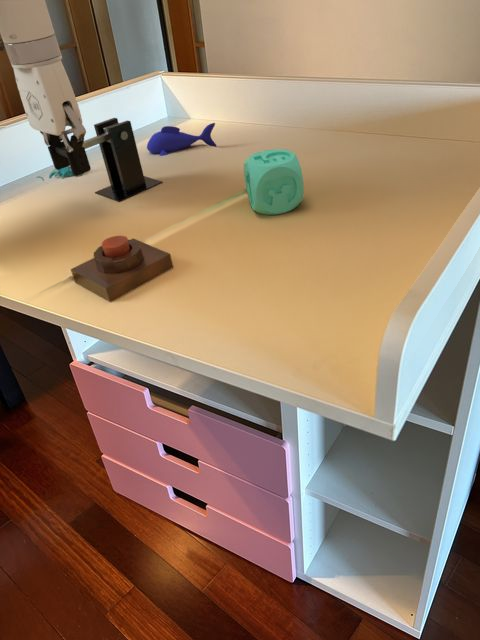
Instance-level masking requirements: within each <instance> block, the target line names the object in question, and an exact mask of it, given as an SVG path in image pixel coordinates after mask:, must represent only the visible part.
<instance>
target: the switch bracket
mask: <svg viewBox="0 0 480 640" xmlns="http://www.w3.org/2000/svg"><path fill="white" fill-rule="evenodd" d="M115 123H116V125H113V124H115ZM110 125H113V126H110ZM107 126H110V127H107ZM93 127H94V131H95V134H96V136H98V135H101V134H104V130H103V128H105V127H107V132H108V135H109V139H110V142H107V141H105V142H102V143H100V144H98V145H99V148H100V149H99V150H100V152H101V155H102V160H103V164H104V166H105V170H106V173H107V177H108V180H109V184H110V185H109V186H106V187H103V188H102V189H99V190H97V191H94V194H95V195H98V196H101V197H103V198H106V199H109V200H112V201H114V202H117V203H121V202H123V201H126V200H128V199H130V198H132V197H135V196H137V195H139V194H141V193H143V192H146V191H148V190H150V189H153V188H155V187H157V186H159V185H162V184H164V181H162V180H159V179H155V178H152V177H150V176H149V177H148V176H146V175H144V171H143V167H142V163H141V159H140V154H139V151H138V145H137V142H136V139H135V133H134V131H133V126H132V122H131V121H130V120H129V119H128V120H125V121H121V122H119V119H118V118H117V117H113V118H109V119H106V120H103V121H101V122H98V123H95V124H93Z"/></svg>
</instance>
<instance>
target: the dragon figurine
mask: <svg viewBox="0 0 480 640" xmlns="http://www.w3.org/2000/svg"><path fill="white" fill-rule="evenodd" d="M58 175H59V176H60V177H61V179H64V178H68V177H77V178H79V177H81V176H82V175H83V174H80V175H78V176H74V175H73V173H72V170H71V167H70V166H67V167H65V168H62V169H60V170H57V169H55V168H54V169H53V170H52V171H51V172H50V173H49V175H48V179H49V180H50V179H52V178H53V176H54V178H56V177H57V176H58ZM35 178H40V179H41V180H42V182H44V181H45V180H44V177H42V176H36V177H35Z"/></svg>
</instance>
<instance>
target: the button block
mask: <svg viewBox="0 0 480 640" xmlns="http://www.w3.org/2000/svg"><path fill="white" fill-rule="evenodd" d="M128 242H129V246H130V252H129V253H127V254H125V255H123V256H120V257H116V258H107V257H106V256H105V254H104V251H103V248H102V245H100V246H98V247H97V248H96V249H95V250H94V251H93V257H92V258H91V259H89V260H87V261H85V262H82V263H79V265H76V266H75V267H73V268H70V272H71V274H72V277H73V280H74V283H75V284H77V285H79V286H81V287H82V288H84V289H86V290H88V291H89V292H91V293H93V294H94V295H97V296H98V297H101V298H102V299H104V300H106V301H108V302H109V303H112V302H113V301H115V300H117V299H118V298H120V297H123V296H124V295H126V294H128V293H129V292H131V291H133V290H135V289H137V288H138V287H140V286H142V285H144V284H145V283H147V282H149V281H151V280H152V279H155V278H156V277H158V276H160V275H162V274H163V273H165V272H167V271H169V270H171V269H172V268H174V264H173V260H172V256H171V253H170V252H167V251H165V250H162V249H159V248H157V247H154V246H152V245H150V244H148V243H145V242H143V241H140V240H139V239H136V238H134V237H133V238H131V239H128Z"/></svg>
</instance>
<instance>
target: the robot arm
mask: <svg viewBox="0 0 480 640" xmlns="http://www.w3.org/2000/svg"><path fill="white" fill-rule="evenodd" d="M48 9H49V8H48V5H47V2H46V0H0V37H1V39H2V42H3V45H4V49H5V51H6V54H7V57H8V60H9V62H10V65H11V67H12V69H13V74H14V78H15V83H16V86H17V90H18V93H19V97H20V100H21V102H22V106H23V109H24V112H25V115H26V118H27V121H28V124H29V126H30V127H31V128H32V129H33V130H35V131H38V132H39V133H40V134H41V135H42V137H43V140H44V144H45V145H46V146H47V149H48V152H49V155H50V158H51V161H52V164H53V167H54V170H55V169H57V170H60V169H62V168H65V167H67V166H70V167H71V170H72V173H73V175H74V176H73V177H76V176H78V175H80V174H82V175H83V174H86V173H88V172H90V171H91V170H92V169H91V164H90V160H89V158H88V155H87V151H86V149H85V148H84V147H85V143H84V141H85V136H86V134H87V130H86V128H85V126H84V125H83V118H82V113H81V110H80V107H79V104H78V100H77V98H76V95H75V92H74V88H73V86H72V84H71V81H70V78H69V76H68V73H67V71H66V69H65V66H64V64H63V62H62V60H63V56H62V52H61V49H60V45H59V42H58V39H57V35H56V32H55V29H54V26H53V23H52V18H51V16H50V13H49V10H48ZM66 127H71V128H68V129H66ZM70 134H72V135H71V136H70V138H69V136H68V135H70ZM56 146H61V147H65V148H67V150H68V151H67V152H66V155H67V157H64V156H61V155H57V154H56V153H55V152H54V148H55V147H56Z"/></svg>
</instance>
